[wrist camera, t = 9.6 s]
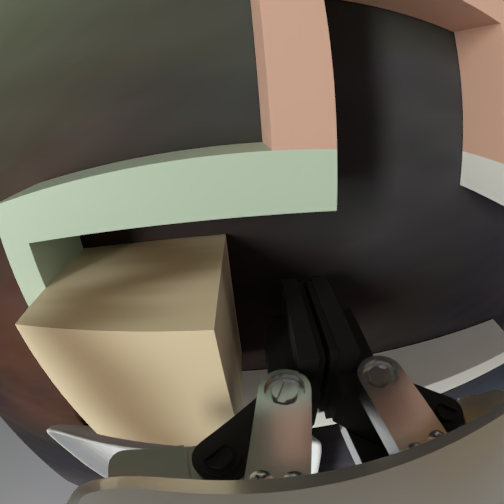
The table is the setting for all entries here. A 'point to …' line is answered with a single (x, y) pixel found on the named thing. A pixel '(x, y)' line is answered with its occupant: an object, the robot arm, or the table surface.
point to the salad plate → (119, 446)
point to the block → (143, 339)
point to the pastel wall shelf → (278, 168)
